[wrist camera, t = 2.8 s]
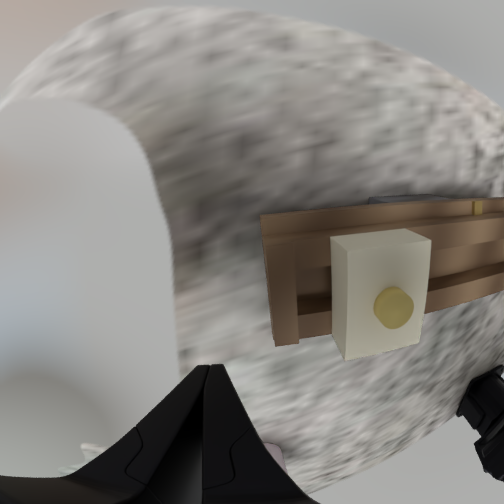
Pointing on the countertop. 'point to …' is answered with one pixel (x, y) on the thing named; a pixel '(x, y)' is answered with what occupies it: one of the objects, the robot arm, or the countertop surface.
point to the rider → (378, 290)
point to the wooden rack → (372, 220)
